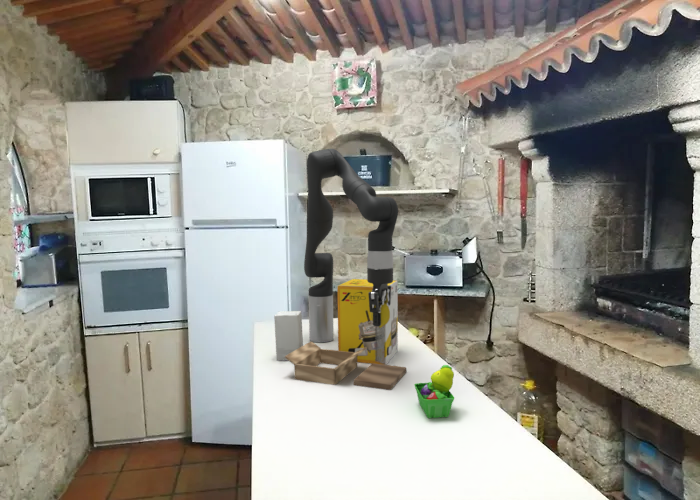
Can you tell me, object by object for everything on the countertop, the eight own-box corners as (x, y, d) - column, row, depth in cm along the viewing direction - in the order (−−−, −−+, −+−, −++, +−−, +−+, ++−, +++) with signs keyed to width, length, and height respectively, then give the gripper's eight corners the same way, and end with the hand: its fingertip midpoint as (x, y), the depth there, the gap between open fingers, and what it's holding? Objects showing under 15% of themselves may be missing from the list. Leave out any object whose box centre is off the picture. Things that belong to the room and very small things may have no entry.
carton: (310, 361, 163) (310, 341, 163) (367, 367, 156) (366, 346, 155) (284, 377, 147) (284, 355, 147) (346, 386, 140) (345, 363, 139)
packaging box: (386, 365, 158) (385, 287, 156) (338, 360, 164) (337, 285, 162) (397, 351, 174) (397, 280, 172) (353, 347, 179) (353, 278, 177)
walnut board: (372, 368, 156) (372, 363, 155) (406, 372, 151) (406, 367, 151) (353, 385, 141) (353, 379, 141) (390, 390, 137) (390, 384, 137)
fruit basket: (413, 402, 128) (413, 359, 127) (446, 400, 129) (447, 358, 128) (423, 421, 117) (423, 374, 116) (460, 419, 118) (460, 372, 117)
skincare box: (303, 355, 170) (302, 310, 168) (299, 361, 163) (299, 314, 162) (279, 355, 170) (278, 310, 169) (275, 361, 164) (273, 314, 162)
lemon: (391, 326, 147) (391, 299, 146) (387, 330, 141) (387, 303, 141) (374, 324, 148) (373, 298, 148) (368, 329, 143) (368, 301, 143)
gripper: (376, 263, 151) (376, 317, 153) (359, 268, 138) (359, 328, 140) (399, 263, 149) (399, 319, 150) (384, 269, 135) (385, 330, 137)
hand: (380, 323), depth 145 cm, fingers closed on lemon, 5 cm apart
